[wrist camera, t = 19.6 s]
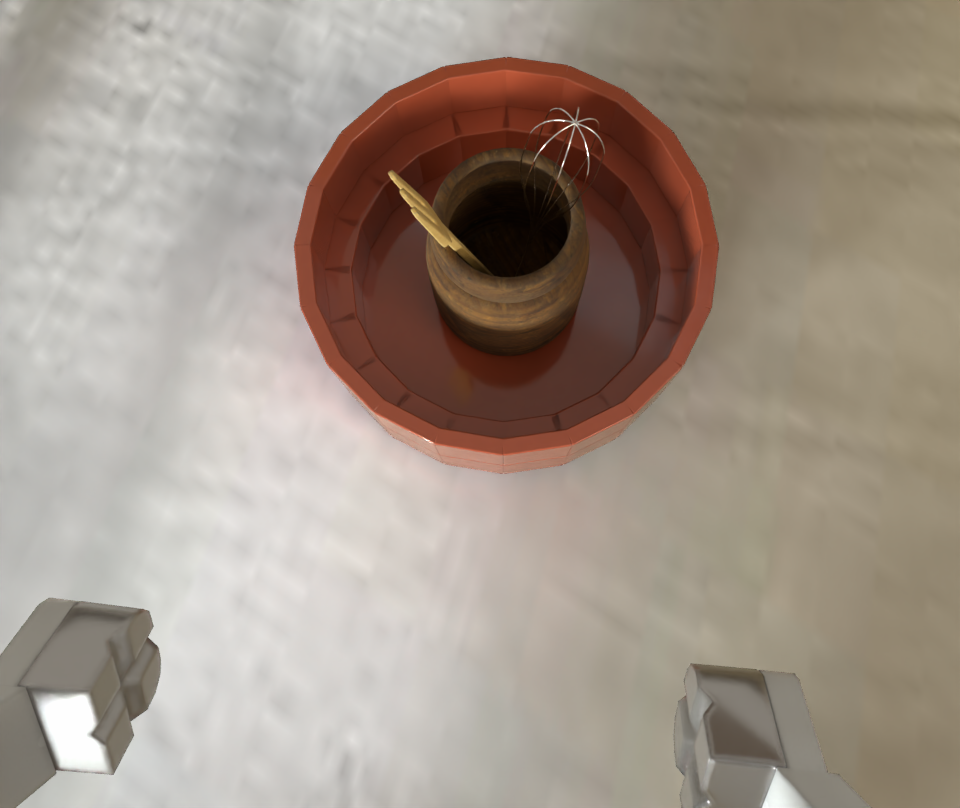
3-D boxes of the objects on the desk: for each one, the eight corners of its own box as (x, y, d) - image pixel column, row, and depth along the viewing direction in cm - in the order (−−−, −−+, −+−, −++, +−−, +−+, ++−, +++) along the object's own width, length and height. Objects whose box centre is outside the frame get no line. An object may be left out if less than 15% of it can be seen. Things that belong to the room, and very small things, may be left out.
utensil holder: (608, 313, 33) (665, 167, 22) (473, 391, 33) (456, 284, 21) (533, 198, 34) (547, -1, 23) (401, 271, 34) (346, 106, 22)
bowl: (256, 297, 35) (210, 244, 29) (506, 74, 37) (506, -14, 31) (502, 552, 32) (502, 546, 27) (758, 298, 34) (805, 245, 29)
